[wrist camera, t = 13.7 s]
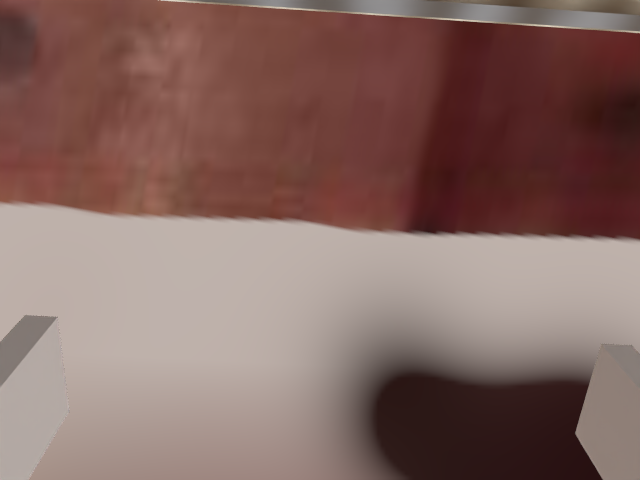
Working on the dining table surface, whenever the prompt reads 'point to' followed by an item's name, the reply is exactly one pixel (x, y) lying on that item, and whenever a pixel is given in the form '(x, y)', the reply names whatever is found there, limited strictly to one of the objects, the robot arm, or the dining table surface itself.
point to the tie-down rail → (478, 10)
